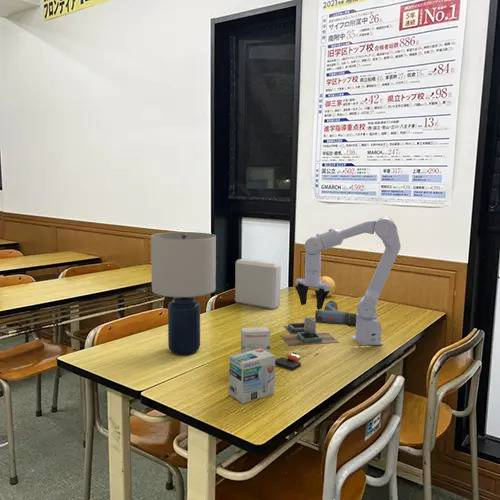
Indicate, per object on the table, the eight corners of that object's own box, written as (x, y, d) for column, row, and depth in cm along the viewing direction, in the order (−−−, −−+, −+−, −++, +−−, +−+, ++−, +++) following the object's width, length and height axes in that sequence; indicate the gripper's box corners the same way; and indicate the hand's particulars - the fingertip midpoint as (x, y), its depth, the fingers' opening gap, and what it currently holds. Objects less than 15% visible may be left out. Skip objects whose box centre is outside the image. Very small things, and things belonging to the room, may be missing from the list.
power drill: (361, 314, 202) (363, 328, 182) (318, 310, 206) (314, 324, 186) (362, 302, 201) (363, 315, 182) (318, 299, 205) (315, 311, 185)
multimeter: (297, 347, 160) (297, 337, 160) (326, 357, 152) (327, 347, 152) (261, 361, 148) (261, 351, 147) (291, 373, 139) (291, 362, 139)
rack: (338, 344, 163) (339, 338, 163) (289, 347, 159) (289, 341, 159) (328, 334, 173) (328, 329, 172) (280, 337, 169) (281, 332, 168)
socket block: (316, 334, 173) (316, 329, 172) (290, 336, 171) (290, 330, 170) (307, 326, 182) (307, 321, 182) (282, 327, 180) (283, 322, 180)
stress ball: (331, 296, 234) (317, 281, 237) (342, 284, 228) (328, 269, 231) (321, 303, 227) (307, 288, 230) (332, 290, 221) (317, 275, 224)
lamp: (155, 365, 142) (153, 237, 136) (150, 342, 162) (149, 230, 156) (220, 359, 148) (221, 236, 142) (209, 338, 167) (209, 229, 161)
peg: (317, 338, 166) (318, 319, 165) (310, 341, 163) (310, 321, 162) (308, 335, 169) (309, 317, 167) (301, 338, 166) (302, 319, 165)
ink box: (268, 362, 145) (268, 326, 144) (270, 369, 140) (271, 331, 139) (240, 363, 144) (240, 326, 143) (241, 370, 140) (242, 331, 138)
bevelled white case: (282, 306, 211) (283, 262, 208) (273, 310, 204) (274, 265, 201) (243, 299, 222) (243, 257, 219) (233, 303, 215) (233, 260, 212)
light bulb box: (242, 404, 118) (243, 363, 117) (227, 394, 124) (228, 355, 122) (275, 394, 124) (276, 355, 123) (260, 384, 130) (261, 347, 128)
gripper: (335, 271, 167) (334, 309, 169) (304, 265, 177) (303, 300, 179) (323, 274, 162) (321, 312, 164) (292, 268, 173) (291, 304, 175)
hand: (311, 306), depth 171 cm, fingers open, 7 cm apart
